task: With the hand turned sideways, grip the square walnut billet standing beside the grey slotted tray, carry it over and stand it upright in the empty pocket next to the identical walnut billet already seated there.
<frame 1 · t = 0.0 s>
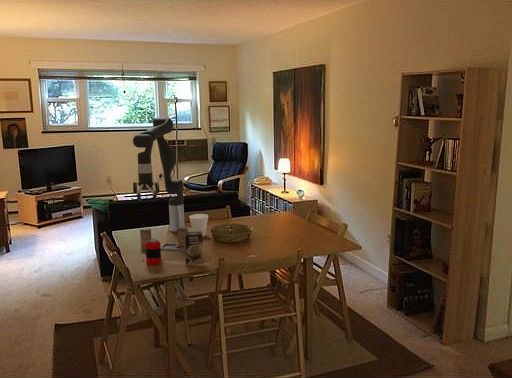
hand: (147, 200, 256), 29 cm above the table, tool pointing down, fingers open, 8 cm apart
soda can: (153, 263, 244), on the table
coffee box: (194, 263, 243), on the table
billet: (146, 249, 267), on the table
grey slotted tray: (176, 250, 264), on the table
seated billet: (183, 248, 262), resting on grey slotted tray
cup: (199, 235, 292), on the table
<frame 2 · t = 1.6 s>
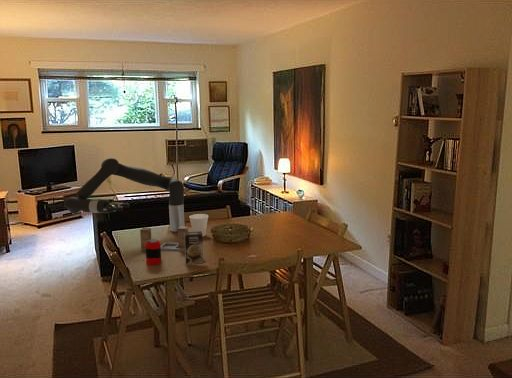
hand: (126, 207, 264), 24 cm above the table, tool horizontal, fingers open, 8 cm apart
nothing on the table moved.
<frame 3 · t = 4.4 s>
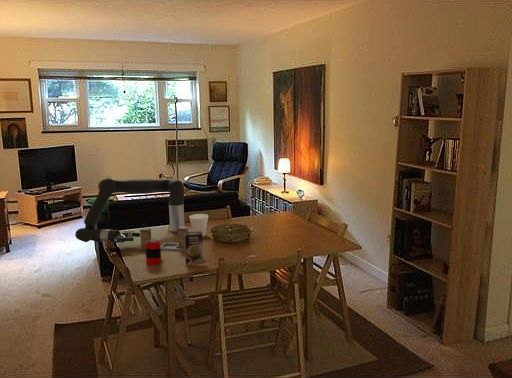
hand: (136, 237, 267), 7 cm above the table, tool horizontal, fingers open, 8 cm apart
nothing on the table moved.
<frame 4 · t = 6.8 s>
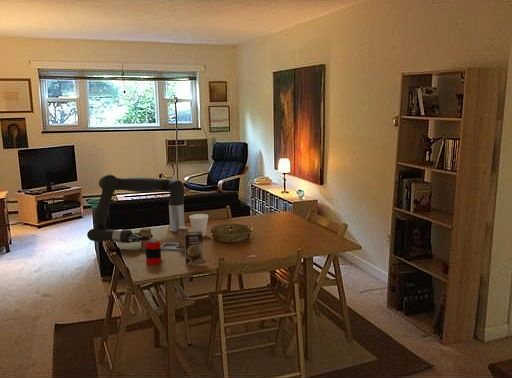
hand: (150, 237, 265), 7 cm above the table, tool horizontal, fingers closed on billet, 4 cm apart
billet: (146, 249, 267), on the table, touching gripper
everything else where it was.
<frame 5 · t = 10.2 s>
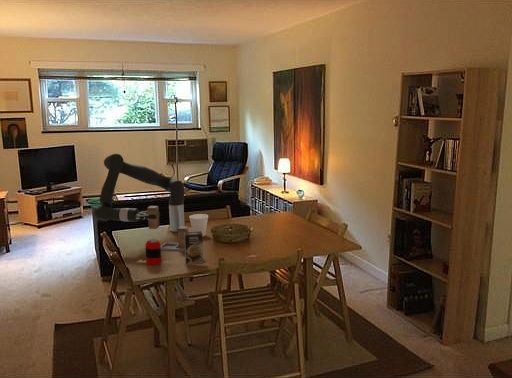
hand: (157, 215, 262), 20 cm above the table, tool horizontal, fingers closed on billet, 4 cm apart
billet: (154, 227, 263), point 13 cm above the table, touching gripper
everything else where it was.
when the fingers open (10 cm above the table, at t = 13.8 s): billet drops 1 cm, resting on grey slotted tray.
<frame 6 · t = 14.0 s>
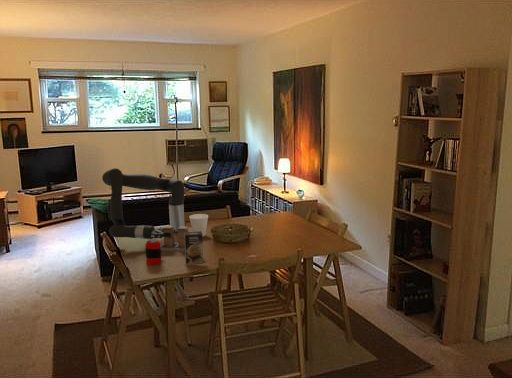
hand: (173, 233, 262), 10 cm above the table, tool horizontal, fingers open, 6 cm apart
billet: (169, 247, 264), point 2 cm above the table, touching grey slotted tray
everything else where it was.
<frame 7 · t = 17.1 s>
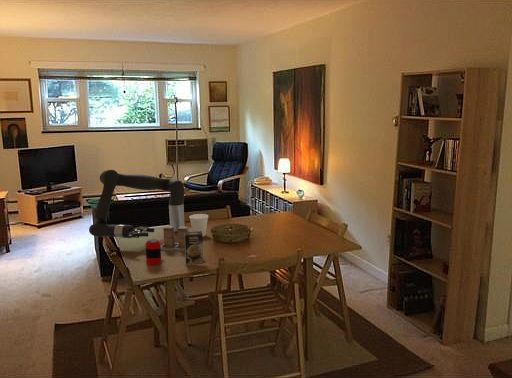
hand: (151, 232, 264), 10 cm above the table, tool horizontal, fingers open, 8 cm apart
nothing on the table moved.
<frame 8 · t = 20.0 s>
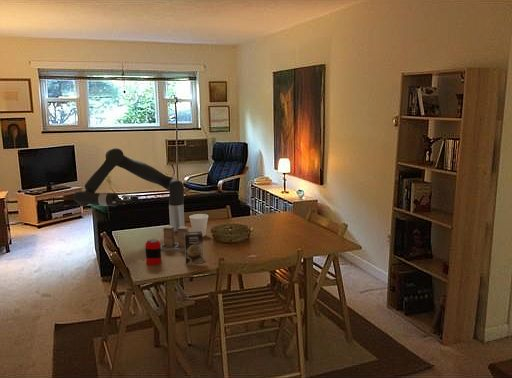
hand: (135, 200, 264), 28 cm above the table, tool horizontal, fingers open, 8 cm apart
nothing on the table moved.
at the end: billet 0.0 cm from the target spot, point 1.5 cm above the table; billet tilted 0°; the gripper is holding nothing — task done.
